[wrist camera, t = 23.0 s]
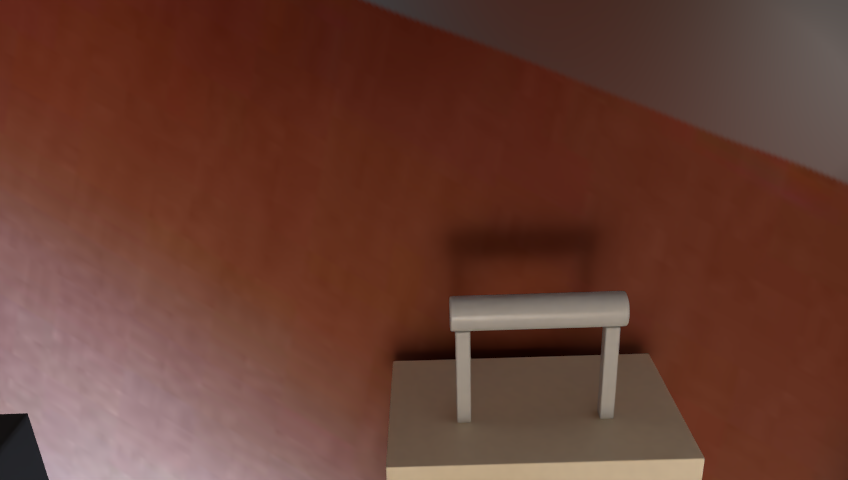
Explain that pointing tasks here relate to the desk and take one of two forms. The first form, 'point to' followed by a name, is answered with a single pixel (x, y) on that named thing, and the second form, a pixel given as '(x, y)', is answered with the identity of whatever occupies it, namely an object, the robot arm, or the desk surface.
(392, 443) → the drawer
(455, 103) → the desk surface
